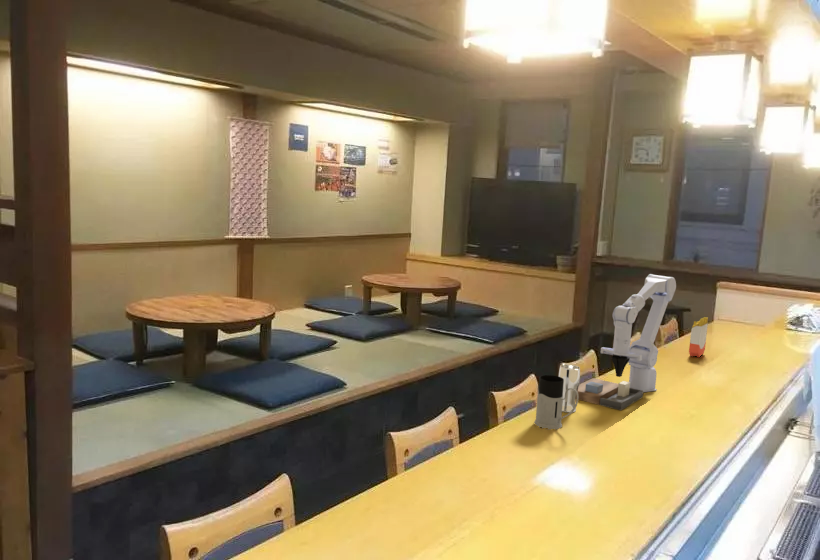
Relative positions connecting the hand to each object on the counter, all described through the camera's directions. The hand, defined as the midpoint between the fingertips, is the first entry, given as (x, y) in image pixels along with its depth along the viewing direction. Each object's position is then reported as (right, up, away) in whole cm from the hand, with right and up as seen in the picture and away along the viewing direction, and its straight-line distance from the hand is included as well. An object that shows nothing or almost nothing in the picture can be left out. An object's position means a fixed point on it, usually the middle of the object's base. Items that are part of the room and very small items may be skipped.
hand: (618, 376), depth 248 cm
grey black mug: (-30, -11, -33) cm, 46 cm away
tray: (0, -8, -5) cm, 9 cm away
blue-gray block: (-10, -5, -4) cm, 12 cm away
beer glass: (-23, -9, -17) cm, 30 cm away
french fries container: (+56, 0, +68) cm, 88 cm away
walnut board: (-8, -7, +1) cm, 11 cm away
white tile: (0, -4, 0) cm, 4 cm away
